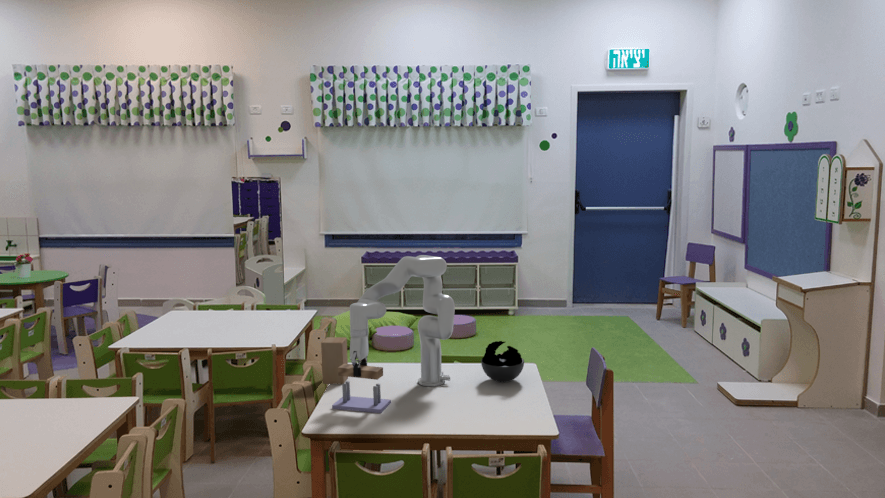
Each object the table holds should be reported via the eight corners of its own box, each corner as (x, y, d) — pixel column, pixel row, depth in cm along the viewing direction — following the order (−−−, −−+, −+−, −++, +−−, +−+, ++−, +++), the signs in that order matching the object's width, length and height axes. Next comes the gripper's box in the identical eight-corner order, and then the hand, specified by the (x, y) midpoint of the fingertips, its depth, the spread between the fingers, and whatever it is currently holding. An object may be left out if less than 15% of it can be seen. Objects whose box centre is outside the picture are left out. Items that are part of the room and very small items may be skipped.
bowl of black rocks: (480, 374, 333) (480, 336, 331) (522, 374, 332) (522, 336, 330) (481, 388, 314) (481, 348, 311) (525, 388, 313) (525, 347, 310)
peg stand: (391, 403, 297) (390, 381, 296) (381, 413, 286) (380, 390, 284) (343, 398, 303) (343, 377, 302) (332, 408, 292) (331, 386, 290)
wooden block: (348, 377, 332) (347, 337, 330) (343, 384, 323) (341, 342, 320) (328, 377, 333) (326, 336, 331) (322, 384, 324) (320, 342, 321)
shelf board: (338, 375, 292) (338, 367, 292) (344, 371, 298) (344, 363, 298) (377, 379, 287) (377, 371, 286) (383, 375, 292) (383, 367, 292)
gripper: (359, 327, 299) (360, 367, 302) (342, 337, 283) (343, 379, 285) (375, 328, 297) (376, 368, 300) (359, 338, 281) (360, 381, 283)
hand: (360, 373), depth 292 cm, fingers closed on shelf board, 6 cm apart
